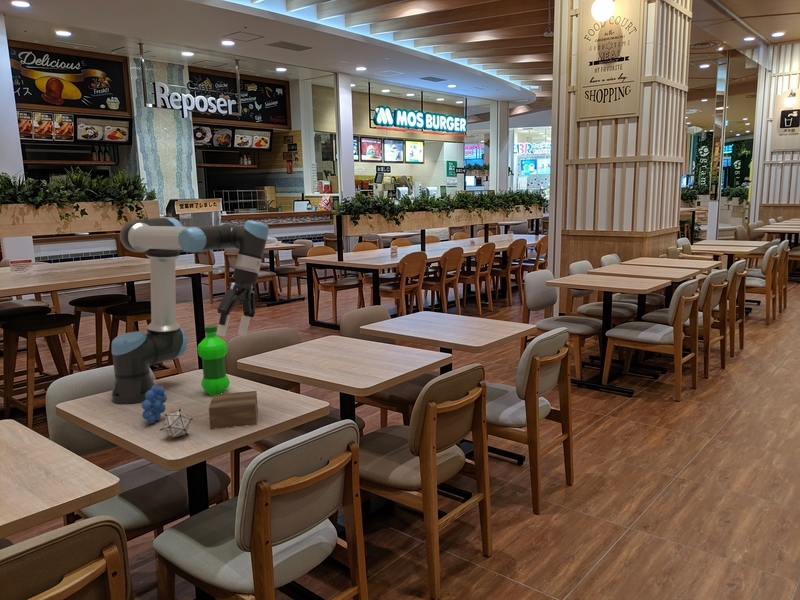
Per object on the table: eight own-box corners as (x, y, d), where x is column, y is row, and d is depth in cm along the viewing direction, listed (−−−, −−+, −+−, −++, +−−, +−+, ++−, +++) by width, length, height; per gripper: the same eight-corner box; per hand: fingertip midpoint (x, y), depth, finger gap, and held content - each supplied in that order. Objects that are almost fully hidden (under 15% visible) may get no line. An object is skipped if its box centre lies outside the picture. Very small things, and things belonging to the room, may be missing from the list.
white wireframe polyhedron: (184, 449, 185) (194, 428, 180) (155, 444, 181) (164, 422, 176) (188, 425, 191) (197, 405, 186) (159, 420, 188) (168, 399, 183)
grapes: (155, 414, 205) (152, 379, 203) (173, 415, 203) (170, 380, 201) (133, 427, 193) (129, 391, 191) (151, 428, 192) (148, 391, 190)
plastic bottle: (234, 388, 230) (229, 323, 226) (224, 397, 220) (218, 329, 216) (208, 388, 231) (202, 323, 227) (197, 397, 221) (191, 330, 216)
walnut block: (214, 414, 203) (213, 394, 202) (257, 410, 206) (256, 390, 205) (210, 430, 190) (208, 408, 189) (256, 425, 193) (255, 404, 191)
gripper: (238, 268, 180) (222, 338, 180) (274, 276, 204) (259, 338, 204) (216, 262, 182) (199, 332, 181) (254, 271, 206) (239, 333, 206)
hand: (231, 335), depth 193 cm, fingers open, 13 cm apart
